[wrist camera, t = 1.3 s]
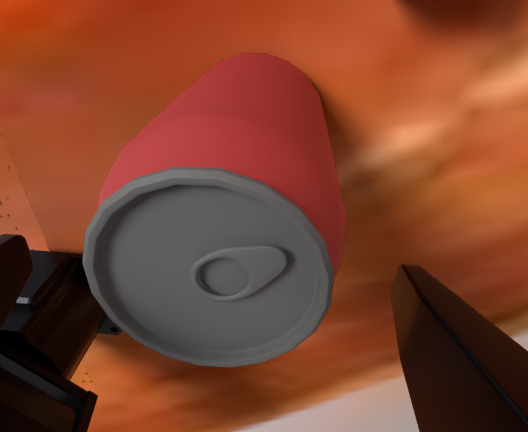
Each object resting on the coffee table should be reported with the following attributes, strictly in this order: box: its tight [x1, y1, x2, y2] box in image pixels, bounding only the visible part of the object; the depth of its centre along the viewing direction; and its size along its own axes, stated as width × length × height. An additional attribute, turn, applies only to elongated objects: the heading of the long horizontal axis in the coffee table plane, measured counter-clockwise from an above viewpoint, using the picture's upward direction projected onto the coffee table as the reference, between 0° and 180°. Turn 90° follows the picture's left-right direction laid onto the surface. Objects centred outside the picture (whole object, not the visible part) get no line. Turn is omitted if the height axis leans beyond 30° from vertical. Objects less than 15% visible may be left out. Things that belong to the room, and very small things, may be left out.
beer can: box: [82, 53, 347, 367], centre depth 13 cm, size 7×7×12 cm
